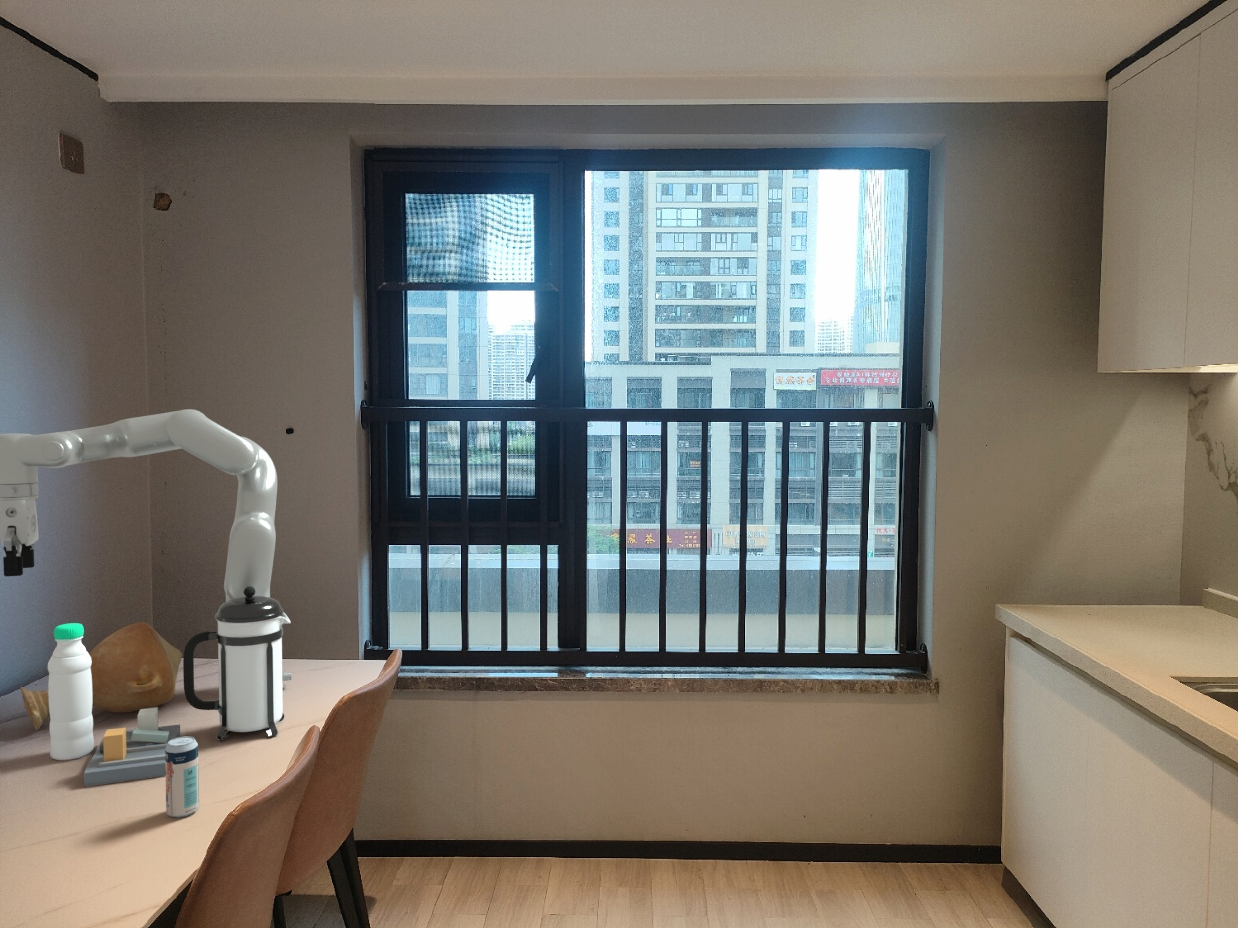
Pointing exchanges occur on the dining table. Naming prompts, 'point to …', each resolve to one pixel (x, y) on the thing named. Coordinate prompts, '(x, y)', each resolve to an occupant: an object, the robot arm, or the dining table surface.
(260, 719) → the coffee press
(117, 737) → the orange fader
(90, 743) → the water bottle
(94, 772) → the panel
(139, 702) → the jug
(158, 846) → the dining table surface
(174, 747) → the beer can
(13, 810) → the dining table surface
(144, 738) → the block
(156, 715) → the ivory fader
